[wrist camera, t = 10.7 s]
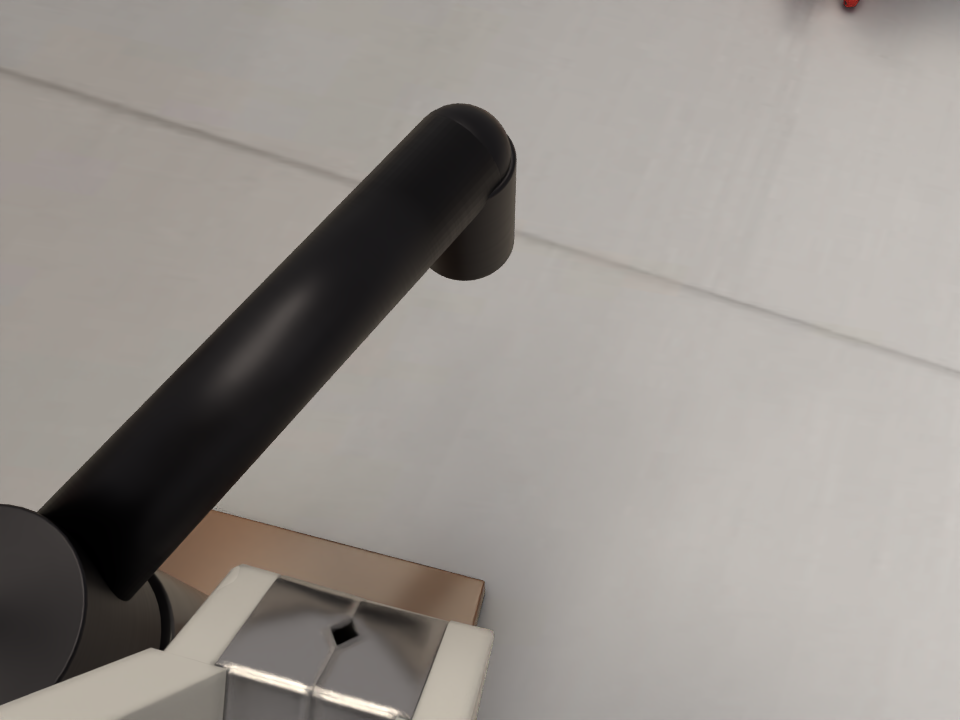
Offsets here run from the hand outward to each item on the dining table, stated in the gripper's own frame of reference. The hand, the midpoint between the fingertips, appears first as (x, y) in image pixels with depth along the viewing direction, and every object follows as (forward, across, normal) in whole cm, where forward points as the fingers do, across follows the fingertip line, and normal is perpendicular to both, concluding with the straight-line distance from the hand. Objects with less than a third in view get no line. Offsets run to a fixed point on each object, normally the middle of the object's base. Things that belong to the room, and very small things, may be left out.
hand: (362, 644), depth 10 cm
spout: (+7, +4, +2) cm, 8 cm away
